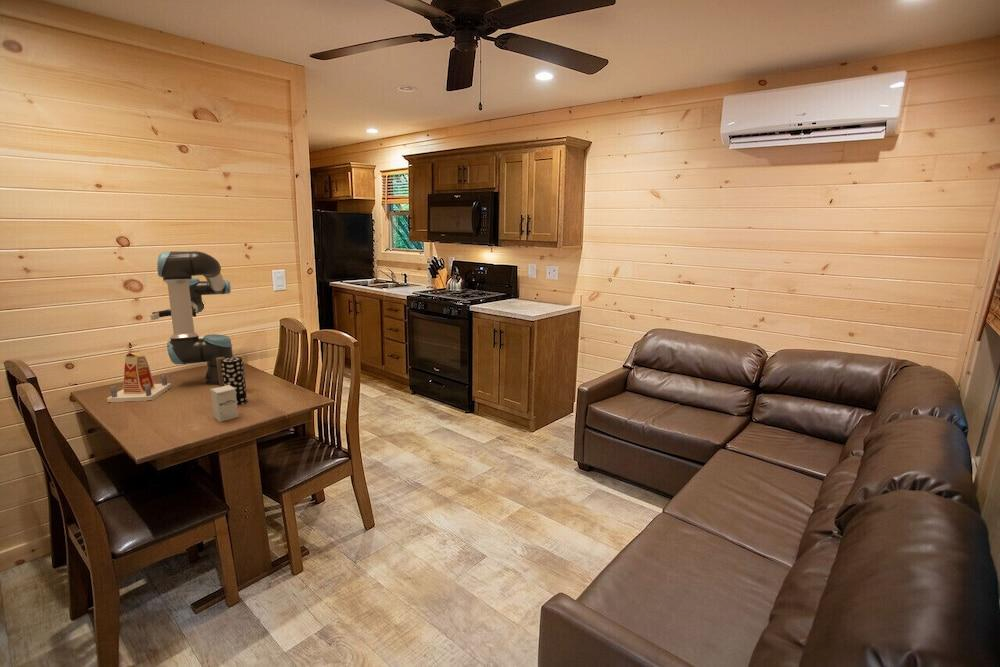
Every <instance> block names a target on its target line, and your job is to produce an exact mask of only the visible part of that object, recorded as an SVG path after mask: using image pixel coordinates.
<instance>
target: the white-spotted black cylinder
mask: <svg viewBox="0 0 1000 667" xmlns="http://www.w3.org/2000/svg"><path fill="white" fill-rule="evenodd" d="M220 362H221V370H222V377H223V385H224V386H227V385H230V386H232V387H233V388H235V390H236V399H237V406H242V405H244V404H246V403H247V402H248V398H247V387H246V388H245V383H246V379H245V380H244V374H245V371H244V372H243V366H244V362H243V358H242V357H240V356H233V357H229V358H225V359H222V360H221V361H220Z"/></svg>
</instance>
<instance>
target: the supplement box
mask: <svg viewBox="0 0 1000 667" xmlns="http://www.w3.org/2000/svg"><path fill="white" fill-rule="evenodd" d="M209 391H210V397H211V404H212V405H211V406H212V412H213V418H215V419H216V420H217V421H218V422H220V423H222V422H225V421H228V420H232V419H237V418H239V410H238V405H237V399H236V390H235V388H233V387H232V386H230V385H227V386H222V387H220V386H219V387H213V388H210V390H209Z"/></svg>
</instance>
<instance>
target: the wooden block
mask: <svg viewBox="0 0 1000 667" xmlns="http://www.w3.org/2000/svg"><path fill="white" fill-rule="evenodd" d="M222 359H225V357H218V358H216V362H217V370H218V378H219V385H218V386H219V387H222V386H224V385H223V377H222V370H221V362H220V361H221V360H222ZM244 367H245V366H244V365H243V372H244V380H245V381H246V374H245V368H244ZM245 388H246V389H247V385H246V382H245Z"/></svg>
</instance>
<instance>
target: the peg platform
mask: <svg viewBox="0 0 1000 667" xmlns="http://www.w3.org/2000/svg"><path fill="white" fill-rule="evenodd" d="M160 380H161V383H154V385H155V388H154V389H152V390H151V388H150V384H145V385H144V386H145V392H146V393H144V394H125V393H124V388H122V389H121V390H118V391H117V386H116V385H115V384H113V385H109V388H110V389H109V390H110V394H111V395H110V396H108V397H106V400H107V403H108V402H111V403H126V402H125V401H135V402H148V401H147V400H152V401H154V400H155V399H157V398H159V397H160V396H162V395H163V394H164V393H166V392H167V391H169V390H170V389H172V388H171V387H173V385H172V383H168V381H167V374H166V373H165V374H161V375H160ZM169 388H170V389H169ZM168 389H169V390H168ZM165 391H166V392H165ZM163 392H164V393H163ZM162 393H163V394H162ZM159 395H160V396H159ZM156 397H157V398H156ZM153 399H154V400H153Z"/></svg>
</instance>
